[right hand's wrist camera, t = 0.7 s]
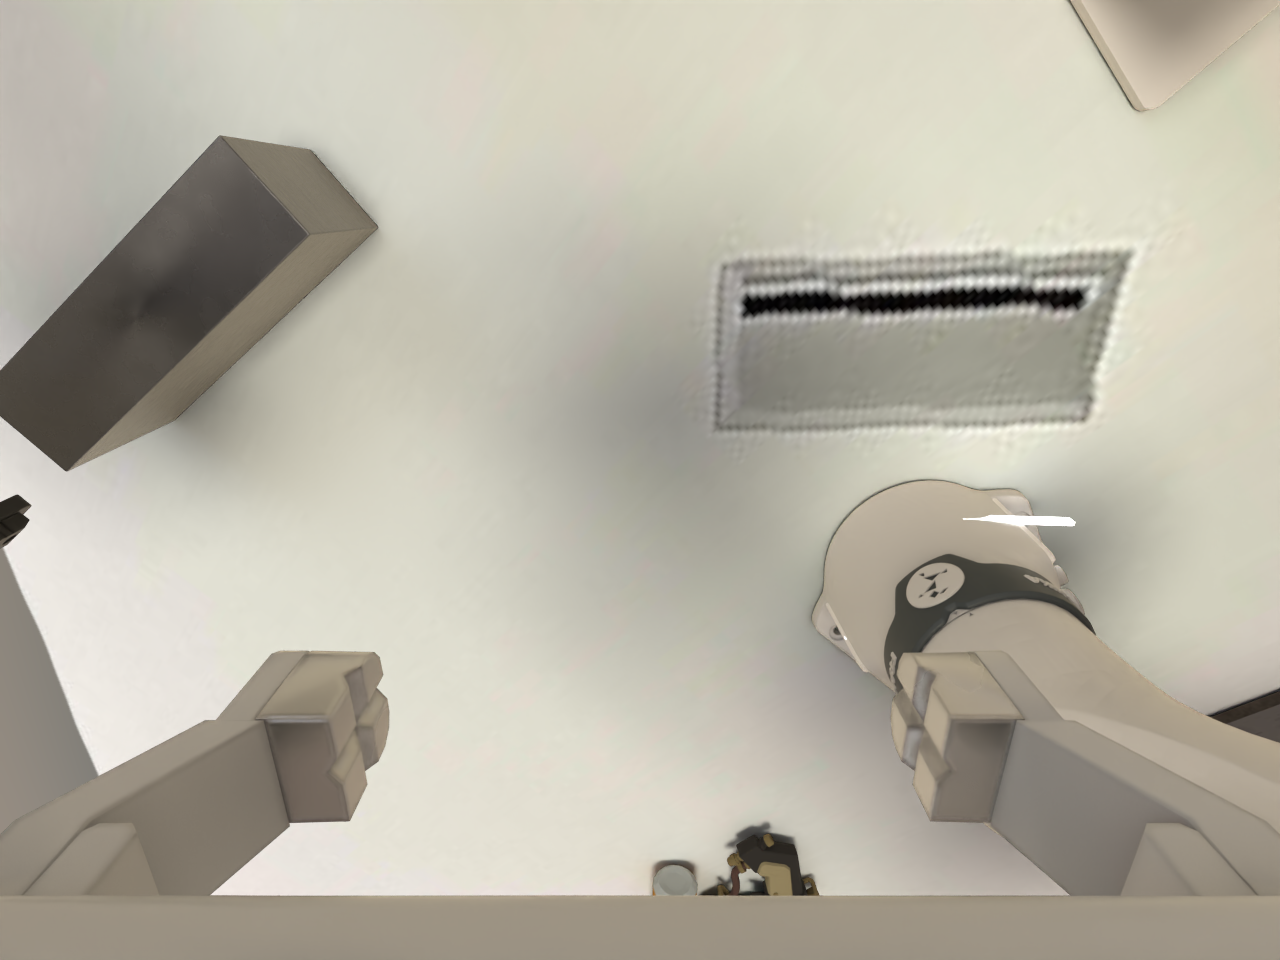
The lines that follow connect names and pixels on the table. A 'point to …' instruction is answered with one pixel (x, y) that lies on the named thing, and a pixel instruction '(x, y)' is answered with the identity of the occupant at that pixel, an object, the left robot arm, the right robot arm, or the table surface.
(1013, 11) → the table surface
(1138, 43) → the tablet stand
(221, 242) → the box
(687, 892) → the spray gun
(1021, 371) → the table surface
